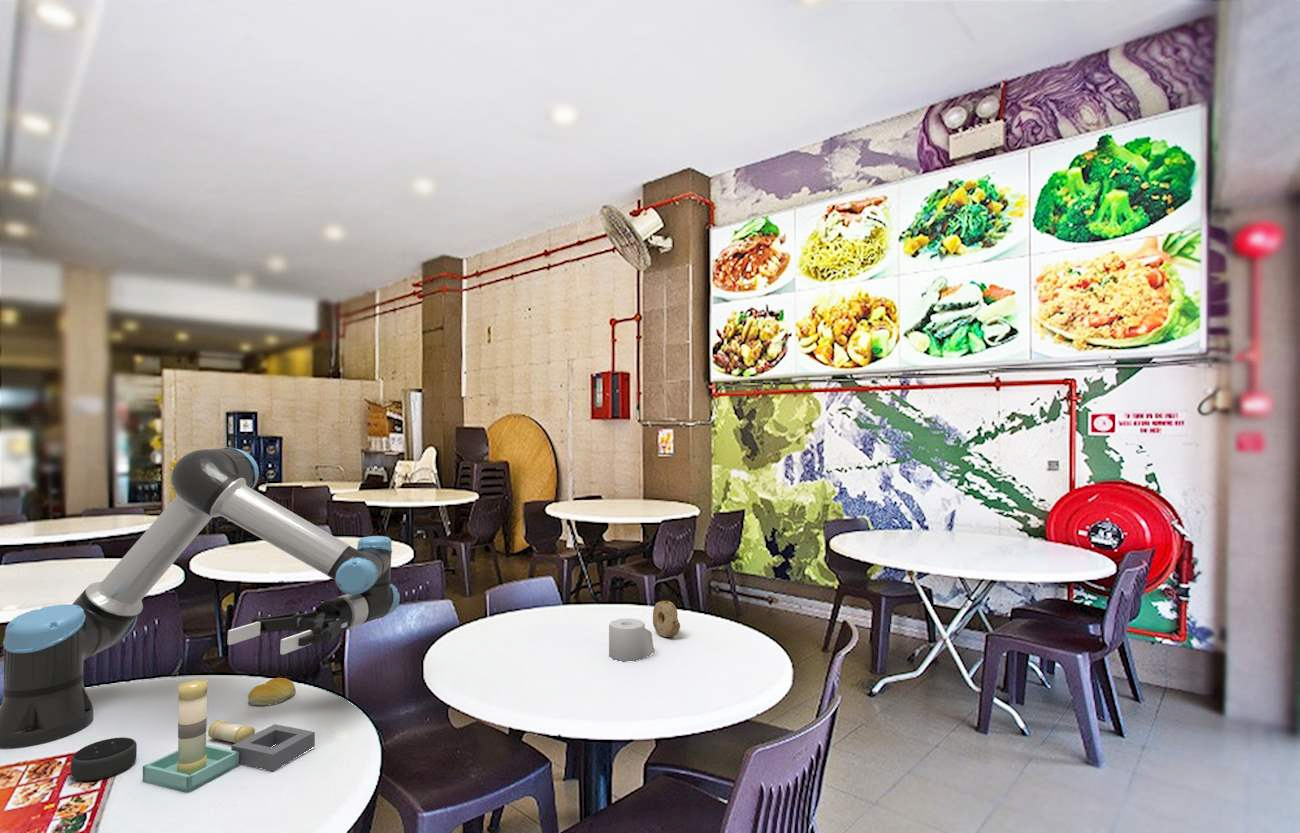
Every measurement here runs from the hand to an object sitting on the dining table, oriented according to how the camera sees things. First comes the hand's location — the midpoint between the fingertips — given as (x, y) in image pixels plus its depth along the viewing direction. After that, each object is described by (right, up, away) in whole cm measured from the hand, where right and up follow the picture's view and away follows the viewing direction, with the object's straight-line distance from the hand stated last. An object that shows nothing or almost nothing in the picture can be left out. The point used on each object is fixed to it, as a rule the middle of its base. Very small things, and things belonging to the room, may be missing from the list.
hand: (254, 642), depth 124 cm
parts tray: (-4, -19, -11) cm, 22 cm away
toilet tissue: (+71, -21, +49) cm, 89 cm away
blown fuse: (-4, -19, -11) cm, 22 cm away
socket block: (+6, -19, -4) cm, 21 cm away
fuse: (-5, -19, +1) cm, 20 cm away
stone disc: (+80, -21, +65) cm, 105 cm away
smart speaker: (-21, -20, -10) cm, 30 cm away
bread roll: (-9, -20, +21) cm, 30 cm away
